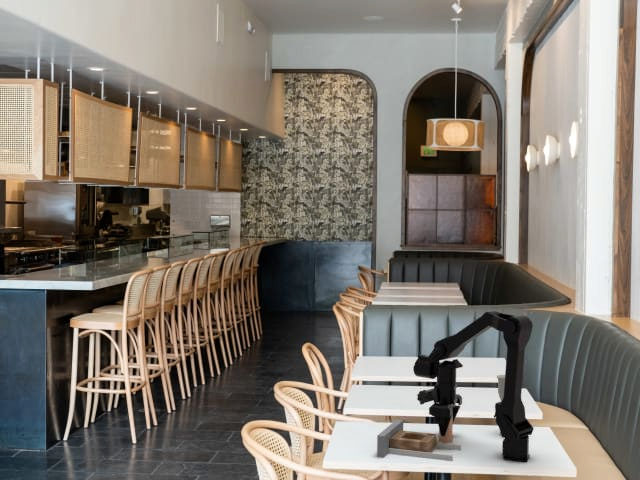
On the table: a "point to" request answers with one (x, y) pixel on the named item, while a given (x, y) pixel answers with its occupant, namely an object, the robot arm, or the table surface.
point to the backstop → (385, 449)
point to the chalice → (501, 387)
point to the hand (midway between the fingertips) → (445, 433)
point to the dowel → (447, 434)
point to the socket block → (413, 441)
